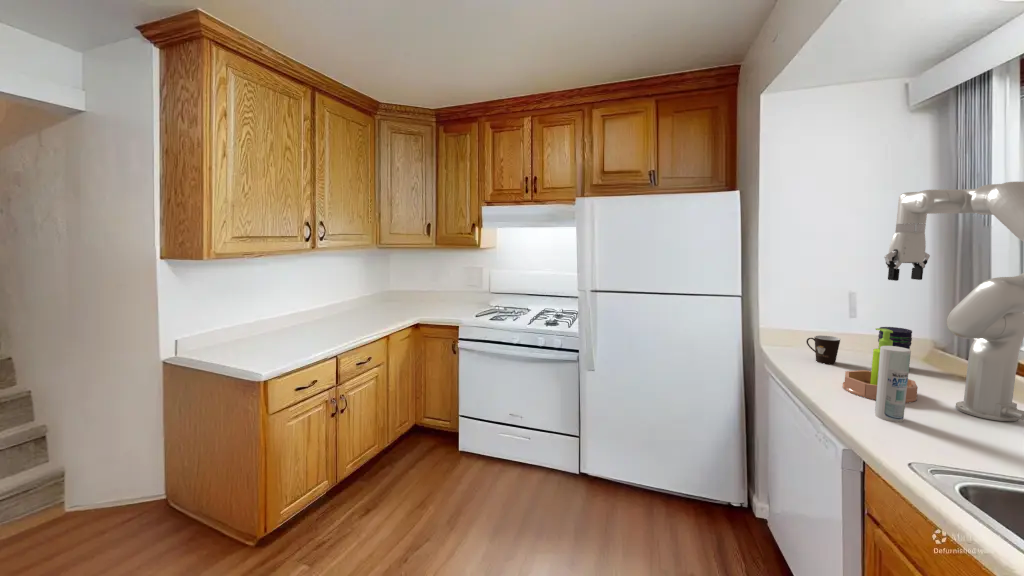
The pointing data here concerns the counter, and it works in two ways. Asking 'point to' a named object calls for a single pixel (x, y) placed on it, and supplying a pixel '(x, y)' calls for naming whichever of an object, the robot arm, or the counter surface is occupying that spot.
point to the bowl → (861, 385)
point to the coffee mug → (825, 348)
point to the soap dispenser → (876, 354)
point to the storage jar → (899, 336)
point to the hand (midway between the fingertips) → (904, 279)
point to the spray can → (892, 383)
